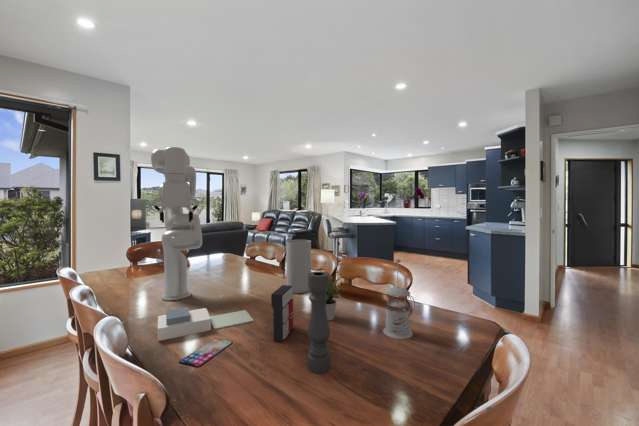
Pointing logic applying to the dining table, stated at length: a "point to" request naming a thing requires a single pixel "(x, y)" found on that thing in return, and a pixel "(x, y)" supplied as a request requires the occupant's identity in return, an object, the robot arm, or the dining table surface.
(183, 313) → the tile
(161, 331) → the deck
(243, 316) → the mat
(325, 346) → the candle holder
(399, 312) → the french press
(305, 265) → the cylinder vase
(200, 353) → the smartphone
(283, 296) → the dark grey box
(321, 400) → the dining table surface
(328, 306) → the house plant
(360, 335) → the dining table surface
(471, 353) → the dining table surface
